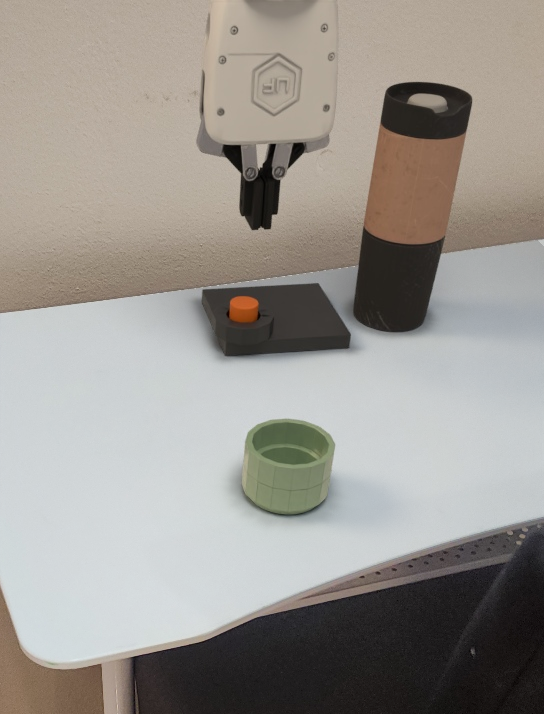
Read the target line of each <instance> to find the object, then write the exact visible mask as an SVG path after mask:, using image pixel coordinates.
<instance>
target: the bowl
mask: <svg viewBox="0 0 544 714" xmlns="http://www.w3.org/2000/svg"><path fill="white" fill-rule="evenodd" d="M335 450H336V442H335V440H334V438H333V437H332V435H331V434H330V433H329V432H328V431H326V430H325V429H324V428H322V427H321V426H319V425H316V424H314V423H312V422H309V421H306V420H301V419H293V418H275V419H269V420H266V421H263V422H260V423H257V424H256V425H254V426H253V427H252V428H251V429H250V430H248V431H247V434H246V437H245V440H244V450H243V465H242V473H241V486H242V489H243V492H244V495H246V497H248V499H250V501H252V502H253V504H254V505H255V506H257V507H259V508H260V509H262V510H264V511H267V512H270V513H273V514H279V515H298V514H299V515H300V514H304V513H306V512H309V511H311V510H313V509H314V508H316V507H317V506H319V505H320V504H321V503H322V502H323V501H324V500H325V499H326V498H327V497H328V493H329V488H330V482H331V476H332V470H333V462H334V456H335Z"/></svg>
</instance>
